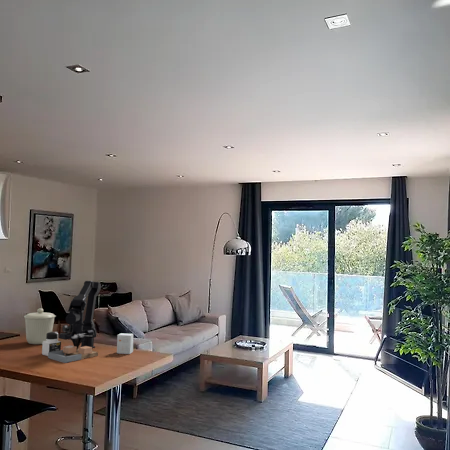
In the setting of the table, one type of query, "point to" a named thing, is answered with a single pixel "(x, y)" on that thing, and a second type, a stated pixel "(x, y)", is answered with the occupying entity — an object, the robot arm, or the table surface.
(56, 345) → the medicine bottle
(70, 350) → the tile
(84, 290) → the robot arm
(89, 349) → the peach square block
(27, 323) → the canister
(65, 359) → the tray
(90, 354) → the board
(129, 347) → the small box
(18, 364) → the table surface
